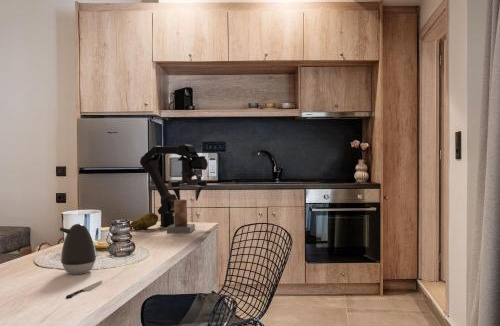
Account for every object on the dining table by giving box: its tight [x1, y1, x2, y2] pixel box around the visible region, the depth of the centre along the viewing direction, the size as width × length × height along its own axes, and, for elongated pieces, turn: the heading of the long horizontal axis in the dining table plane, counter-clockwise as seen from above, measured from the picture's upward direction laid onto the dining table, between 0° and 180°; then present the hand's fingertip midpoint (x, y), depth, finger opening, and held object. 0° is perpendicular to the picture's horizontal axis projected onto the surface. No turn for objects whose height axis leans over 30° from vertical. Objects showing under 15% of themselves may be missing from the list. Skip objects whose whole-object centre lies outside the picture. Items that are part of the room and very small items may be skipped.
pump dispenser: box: [59, 223, 97, 275], centre depth 151 cm, size 10×10×15 cm
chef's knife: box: [65, 280, 103, 299], centre depth 132 cm, size 19×1×3 cm
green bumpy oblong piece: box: [130, 212, 159, 230], centre depth 237 cm, size 8×13×8 cm, turn 79°
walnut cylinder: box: [174, 199, 188, 227], centre depth 230 cm, size 6×6×12 cm
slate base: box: [166, 223, 196, 234], centre depth 230 cm, size 11×11×2 cm
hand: (188, 201), depth 242 cm, fingers open, 9 cm apart
